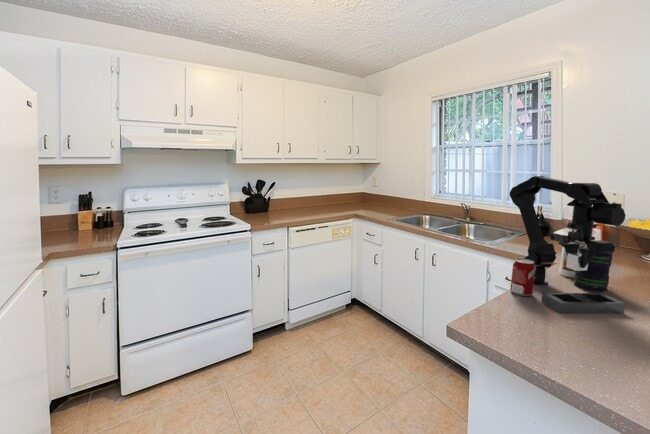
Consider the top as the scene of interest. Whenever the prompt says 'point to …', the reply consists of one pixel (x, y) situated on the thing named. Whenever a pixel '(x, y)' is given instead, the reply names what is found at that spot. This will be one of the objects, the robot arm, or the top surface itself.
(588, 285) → the storage jar
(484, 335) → the top surface
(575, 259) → the grey foam cube
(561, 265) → the milk bottle
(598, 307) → the tray
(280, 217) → the top surface
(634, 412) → the top surface
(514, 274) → the soda can
